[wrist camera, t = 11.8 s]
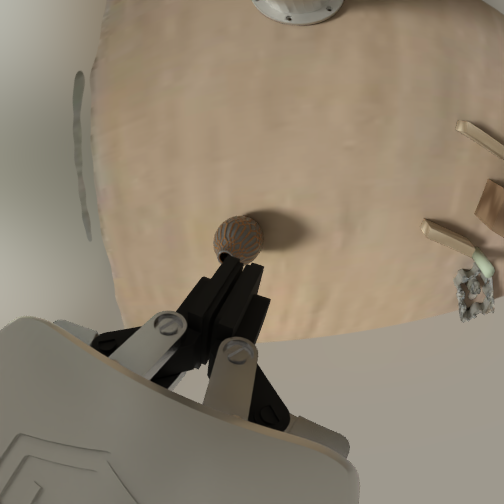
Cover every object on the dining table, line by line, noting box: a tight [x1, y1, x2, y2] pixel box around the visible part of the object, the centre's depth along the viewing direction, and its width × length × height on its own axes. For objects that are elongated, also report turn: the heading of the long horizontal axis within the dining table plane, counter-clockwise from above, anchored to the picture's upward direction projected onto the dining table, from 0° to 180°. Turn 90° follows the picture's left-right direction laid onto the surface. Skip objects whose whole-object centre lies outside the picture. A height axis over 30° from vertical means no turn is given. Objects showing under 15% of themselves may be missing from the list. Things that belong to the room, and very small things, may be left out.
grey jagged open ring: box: [453, 262, 494, 322], centre depth 33 cm, size 11×8×4 cm
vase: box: [214, 216, 263, 266], centre depth 39 cm, size 7×7×9 cm
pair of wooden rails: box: [420, 120, 504, 257], centre depth 27 cm, size 17×9×4 cm, turn 169°
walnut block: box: [474, 179, 504, 238], centre depth 25 cm, size 6×6×6 cm
